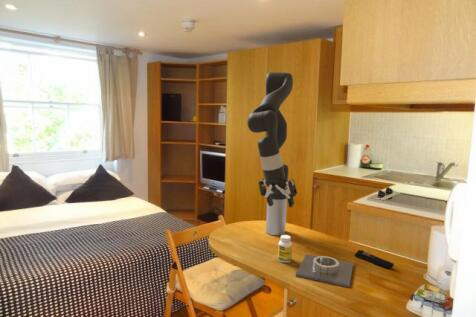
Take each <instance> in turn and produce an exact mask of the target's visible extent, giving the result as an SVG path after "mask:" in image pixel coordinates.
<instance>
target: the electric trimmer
mask: <svg viewBox="0 0 476 317" xmlns="http://www.w3.org/2000/svg"><path fill="white" fill-rule="evenodd" d="M354 257H355V258H360V259H363V260H366V261H368V262H371V263H372V264H373V265H377V266H379V267H382V268H386V269H392V268H393V267H394V266H395V264H394V263H393V262H391V261H388V260H386V259H384V258H381V257H378V256H376V255H373V254H370V253H368V252H365V251H364V250H361V249H359V250H357V251H356V252H355V254H354Z"/></svg>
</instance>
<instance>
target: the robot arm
mask: <svg viewBox="0 0 476 317" xmlns="http://www.w3.org/2000/svg"><path fill="white" fill-rule="evenodd" d="M293 86H294V78H293V75H292V74H291V73H290V72H280V71H279V72H277V71H273V72H272V71H271V72H268V73H267V74H266V77H265V95H264V98H263V99H262V100H261V103H260V104H259V106H257V107H256V108H255V109H253V110H252V111H251V112H250V114H249V116H248V118H247V123H246V124H247V128H248V130H249V131H251V132H252V133H255V134H256V133H263V132H264V133H265V137H261V138H260V139H258V140H257V148H258V152H259V157H260V164H261V168H262V172H263V177H264V179H263V178H262V179H261V180H260V181H258V187H259V192H260V196H262V197H265V198H266V218H265V220H266V222H265V232H266V233H267V234H268V235H272V236H281V235H286V223H287V204H288V208H293V207H294V205H295V202H294V198H295V197H296V196H297V195H298V192H297V186H296V182H295V180H294V179H292V178H291V179H290V180H289V166H288V165H287V164H284V163H283V159H282V155H281V152H280V149H281V148H282V147H283V145H284V144H285V142H286V140H287V137H288V122H287V121H286V119H285V117H284V116H283V114H282V112H281V110H280V108H281V106H282V104H283V103H284V102H285V100H287V98H288V97H289V95H290V94H291V93H292V91H293ZM266 186H267V187H266Z"/></svg>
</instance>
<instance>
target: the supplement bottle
mask: <svg viewBox="0 0 476 317" xmlns="http://www.w3.org/2000/svg"><path fill="white" fill-rule="evenodd" d="M291 238H292V237H291V236H290V235H289V234H283V235H280V240H279V241H278V244H277V245H278V247H277V260H278V261H279V262H281V263H291V261H292V255H293V254H292V252H293V243H292V241H291V240H292V239H291Z"/></svg>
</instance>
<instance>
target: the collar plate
mask: <svg viewBox="0 0 476 317" xmlns="http://www.w3.org/2000/svg"><path fill="white" fill-rule="evenodd" d="M353 268H354V262H350V261H344V260H340V259H336V258H334V257H331V256H326V255H321V256H320V255H319V256H318V255H315V254H307V253H306V254H305V256H304V258H303V259H302V261H301V263H300V265H299V267H298V268H297V271H296V272H295V277H297V278H298V277H299V278H304V279H308V280H312V281H315V282H316V281H317V282H321V283H326V284H330V285H331V284H332V285H336V286H340V287H344V288H350V286H351V285H350V284H351V278H352V274H353Z"/></svg>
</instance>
